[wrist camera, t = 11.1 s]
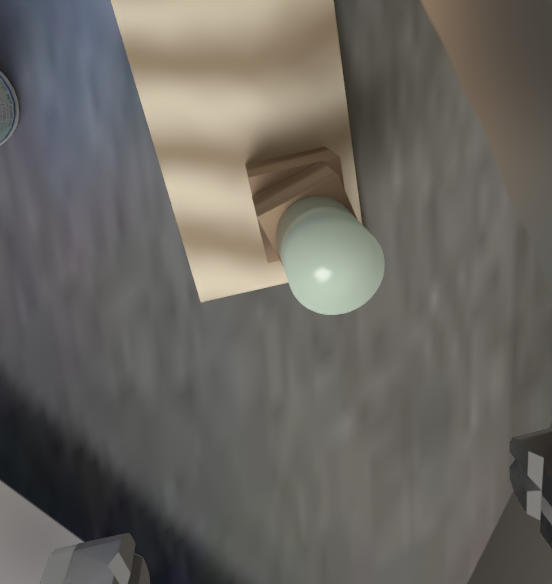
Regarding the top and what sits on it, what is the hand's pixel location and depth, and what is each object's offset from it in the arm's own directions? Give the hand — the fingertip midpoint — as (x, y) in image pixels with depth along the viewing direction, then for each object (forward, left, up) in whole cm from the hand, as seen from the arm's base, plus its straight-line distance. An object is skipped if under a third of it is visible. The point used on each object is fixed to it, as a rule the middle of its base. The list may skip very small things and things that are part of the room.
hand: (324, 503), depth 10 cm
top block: (+1, +3, -24) cm, 24 cm away
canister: (+1, +3, -19) cm, 19 cm away
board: (-3, +1, -30) cm, 30 cm away
